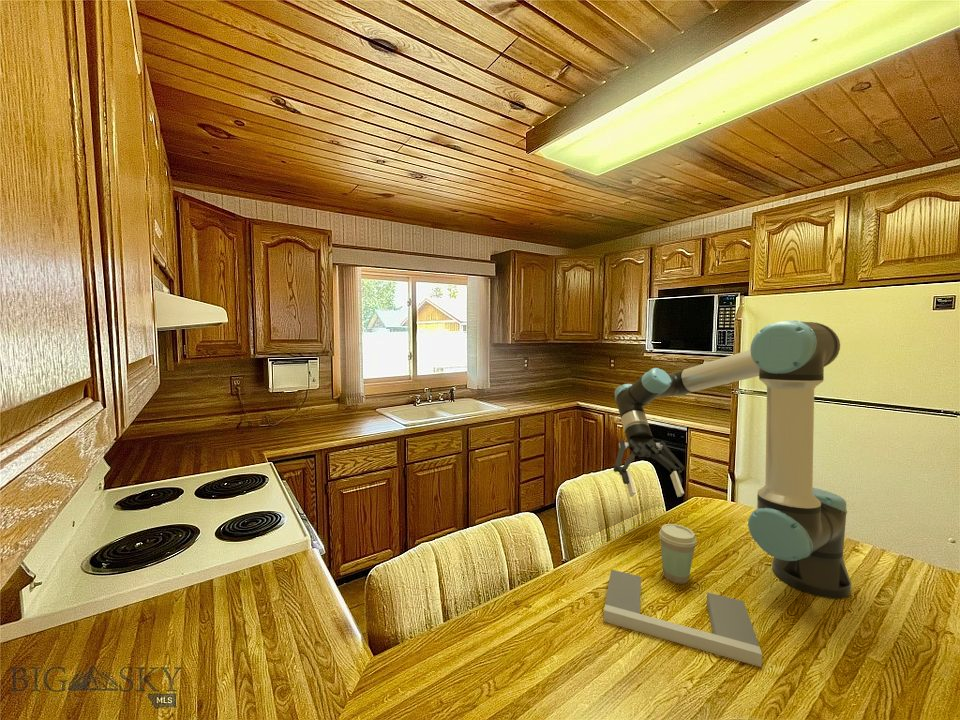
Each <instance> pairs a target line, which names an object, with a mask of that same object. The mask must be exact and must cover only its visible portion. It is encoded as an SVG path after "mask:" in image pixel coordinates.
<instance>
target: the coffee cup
mask: <svg viewBox="0 0 960 720" xmlns="http://www.w3.org/2000/svg"><path fill="white" fill-rule="evenodd" d="M658 537H659V538H660V539H659V540H660V541H659V542H660V550H661V551H660V553H661V554H660V555H661V565H662V575H663V576H664V577H665V579H667V580H668V581H670V582H672V583H675V584H682V585H683V584H687V583H688V582H689V581H690V580H689V579H690V574H691V570H692V569H691V568H692V563H693V557H694V553H695V546H696V545H697V544H698V543H697V538H696V535H695V533H694V531H693V530H691V529H690V528H688V527H686V526H684V525H680V524H675V523H667V524H663V525H662V526H661V528H660V530H659V533H658Z"/></svg>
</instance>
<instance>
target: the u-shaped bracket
mask: <svg viewBox="0 0 960 720" xmlns="http://www.w3.org/2000/svg"><path fill="white" fill-rule="evenodd" d="M641 589H642V576H640V575H636V574H632V573H628V572H623V571H619V570H615V569H610V573H609V579H608V586H607V591H606V597H605V602H604V608H603V622H604V623H609V624H610V625H615V626H618V627H622V628H626V629H629V630H631V631H635V632H638V633H643V634H645V635H649V636H653V637H656V638H658V639H663V640H666V641H670V642H673V643H677V644H680V645H684V646H687V647H691V648H694V649H698V650H701V651H705V652H707V653H711V654H715V655H718V656H721V657H724V658H728V659H730V660H735V661H737V662H738V661H739V662H742V663H745V664H749V665H753V666H755V667H758V668H759V667H760V668H762V667H763V666H762V665H763V652H762V650H761V646H760V644H759V642H758V638H757V635H756V632H755V629H754V627H753V625H752V622H751V618H750V615H749V612H748V610H747V607H746V605H745V601H744V600H741V599H736V598H732V597H728V596H725V595H720V594H716V593H712V592H707V593H706V594H707V596H706V606H707V611H708V615H709V619H710V620H709V621H710V624H711V629H712V633H711V632H707V631H703V630H700V629H698V628H697V629H696V628H693V627H689V626H685V625H682V624H679V623H674V622H670V621H667V620H664V619H660V618H656V617H652V616H649V615H646V614H641V594H642V590H641Z"/></svg>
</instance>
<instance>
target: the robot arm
mask: <svg viewBox="0 0 960 720" xmlns="http://www.w3.org/2000/svg"><path fill="white" fill-rule="evenodd" d="M750 343H751V344H750V349H749V350H745V351H742V352H738V353H734V354H732V355H728V356H725V357H722V358H718V359H715V360H712V361H709V362H708V361H707V362H705V363H701V364H699V365H695V366H691V367H688V368H685V369H681V370H678V371H675V372H669V373H667V372H666V371H665V370H664V369H660V368H659V367H653V368H651V369H650V370H648V371H646V372H645V373H644V374H643V375H642V376H641V377H640V378H639V379H638V380H636V381H635V382H634V383H633V384H632V383H624V384H622V385H619V386H617V387H616V388H615V390H614V398H615V399H614V400H615V404H616V406H617V410H618V413H619V416H620V420H621V423H622V427H623V431H624V434H625V438H626V441H624V439H621V440H620V441H619V442H618V444H617V445H618V452H617V456H616V459H615V463H614V465H613V469H612V470H613V472H615V473H618V474H619V475H620V476H621V478H622V482H623V484H624V485H626V486H627V487H626V488H627V490H628V494H629V497H632V498H633V497H634V495H636V488H635V485H634V481H633V478H632V475H631V471H630V470H628V469H629V467H630V465H631V464H632V462H633V461H634V459H635V458H636V457H638V458H651V459H652V460H655V461H656V462H658V463H659V465H661V466H662V467H664V468H665V469H666V470H668V471H669V472H670V473H671V474H669V476H670V479H671V482H672V484H673V488H674V490H675V494H676V496H677V498H679V497H682V496H683V495H684V494H685V491H684V489H683V487H682V483H683V478H682V475H681V473H682V472H683V471H684V470H685V469H686V468H685V466H684V464H683V463H682V462H681V461H680V460H679V458H678V457H676V455H675V454H674V453H673V452H672V451H671V450H670V448H668V446H667V444H666V442H665V441H664V440H661V441H660V442H655V441H654V439H653V438H654V437H653V434H652V431H651V430H652V429H651V428H650V425H649V421H648V419H647V416H646V413H645V410H644V407H646V406H647V405H648V404H650V403H651V402H652V401H654V400H655V399H658V398H659V399H660V398H667V397H677V396H678V397H681V396H686V395H689V394H690V393H694V392H698V391H702V390H706V389H709V388H710V389H711V388H714V387H718V386H722V385H726V384H730V383H734V382H739V381H742V380H743V381H744V380H747V379H752V378H756V377H758V379H759V380H760V381H761V382H762V383H763V385H765V386H766V423H765V427H766V428H765V430H766V431H765V483H764V484H765V485H764V486H763V487H761V488H759V489H758V490H757V495H756V496H757V499H756V500H757V501H756V503H757V507H756V509H755V510H754V511H752V512H751V514H750V516H749V518H748V522H747V527H748V530H749V534H750V536H751V538H752V539H753V541H754V542H755V543H757V545H758V546H759V548H760V549H761V550H762V551H764V552H765V553H767V554H768V555H769V556H772V567H771V568H772V569H771V570H772V572H773V573H774V574H775V576H776V577H778V579H780V580H781V581H783V582H784V583H786V584H787V585H790V586H791V587H793V588H795V589H797V590H800V591H802V592H805V593H807V594H810V595H813V596H817V597H822V598H827V599H836V600H838V599H847V598H848V597H850V595H851V593H852V583H851V579H850V575H849V573H848V569H847V568H846V567H847V566H846V564H845V561H844V549H845V548H844V547H845V537H846V536H845V534H846V523H847V521H846V520H847V514H848V511H847V501H846V499H844V497H842V496H840V495H838V494H837V493H833V492H830V491H828V490H824V489H820V488H816V487H813V485H814V484H813V482H814V481H813V480H814V479H813V478H814V475H813V474H814V471H813V470H814V429H815V426H814V425H815V424H814V419H815V389H816V388H817V386H820V384H822V383H824V379H825V378H824V377H825V375H824V372H825V371H824V370H825V369H824V368H825V367H827V366H829V365H830V364H831V363H833V362H834V361H835V359H837V357H838V355H839V354H840V350H841V341H840V338H839V336H838V334H837V333H836V331H834V330H833V329H832V328H830V327H829V326H828V325H825V324H822V323H819V322H812V321H800V320H783V321H782V320H781V321H776V322H772V323H770V324H768V325H766V326H764V327H762V328H761V329H760V330H759V331H758V332H757V333H756V334H755V335H754V337H753V338H752V340H751V342H750ZM627 448H628V449H629V450H630V451H631V453H630V455H629V457H628V458H627V460H626V461H625V463H624V464H623V466H621V464H622V460H623V457H624V454H625V451H626V449H627Z"/></svg>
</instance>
